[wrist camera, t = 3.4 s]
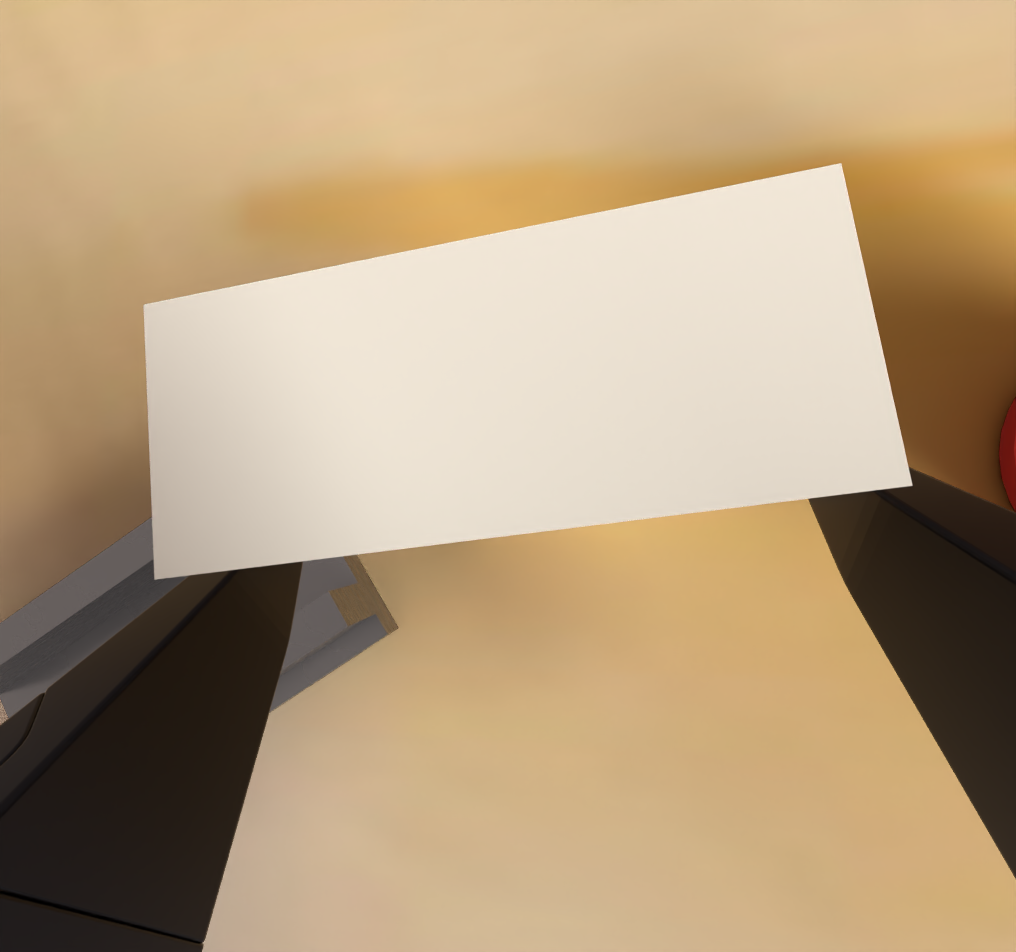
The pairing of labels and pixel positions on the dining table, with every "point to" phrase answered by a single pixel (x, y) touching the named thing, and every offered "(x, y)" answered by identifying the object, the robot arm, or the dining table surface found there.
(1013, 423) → the canned food
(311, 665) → the bottom track
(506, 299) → the door panel
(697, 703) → the dining table surface
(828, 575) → the dining table surface
